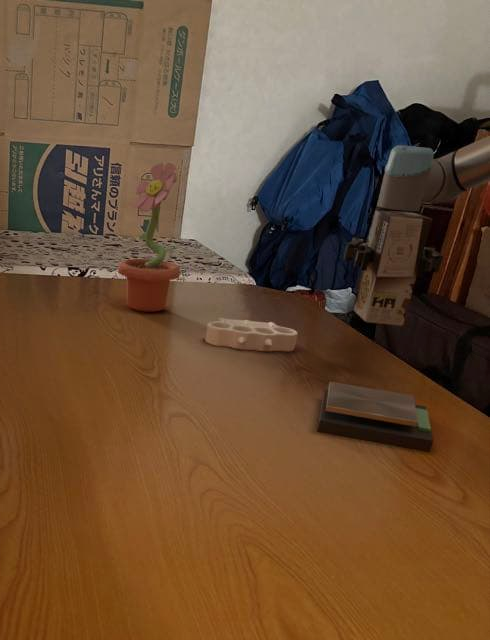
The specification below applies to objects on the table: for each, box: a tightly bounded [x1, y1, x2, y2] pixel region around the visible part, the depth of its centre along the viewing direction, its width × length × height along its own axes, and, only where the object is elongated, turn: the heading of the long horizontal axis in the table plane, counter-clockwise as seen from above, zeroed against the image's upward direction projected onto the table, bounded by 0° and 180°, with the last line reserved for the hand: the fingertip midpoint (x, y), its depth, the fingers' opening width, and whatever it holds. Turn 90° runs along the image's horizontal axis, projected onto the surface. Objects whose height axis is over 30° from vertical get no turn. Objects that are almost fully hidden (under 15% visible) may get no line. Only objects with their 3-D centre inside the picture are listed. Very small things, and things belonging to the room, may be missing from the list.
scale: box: [316, 389, 434, 453], centre depth 120 cm, size 16×16×2 cm
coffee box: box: [353, 210, 433, 327], centre depth 124 cm, size 9×6×16 cm
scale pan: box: [326, 381, 418, 427], centre depth 119 cm, size 13×13×1 cm
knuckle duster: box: [204, 317, 299, 353], centre depth 156 cm, size 3×18×15 cm
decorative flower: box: [117, 162, 181, 313], centre depth 169 cm, size 15×14×30 cm
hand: (393, 265), depth 119 cm, fingers closed on coffee box, 8 cm apart
